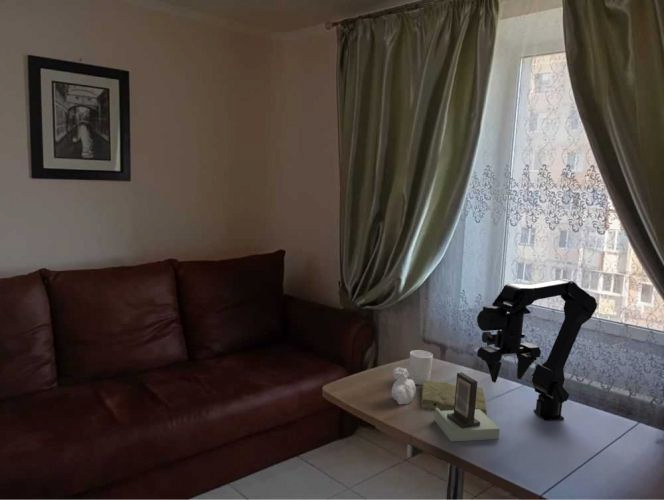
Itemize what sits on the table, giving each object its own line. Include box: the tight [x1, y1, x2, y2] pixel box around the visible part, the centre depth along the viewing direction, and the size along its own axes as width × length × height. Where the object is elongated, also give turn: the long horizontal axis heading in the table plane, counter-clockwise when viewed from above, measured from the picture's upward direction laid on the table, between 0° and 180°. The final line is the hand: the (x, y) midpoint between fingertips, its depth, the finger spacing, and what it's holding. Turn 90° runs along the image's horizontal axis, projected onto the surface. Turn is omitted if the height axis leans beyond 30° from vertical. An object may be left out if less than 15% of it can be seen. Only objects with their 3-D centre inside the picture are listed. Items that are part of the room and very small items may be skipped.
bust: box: [391, 367, 417, 405], centre depth 167 cm, size 12×8×11 cm
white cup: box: [409, 349, 434, 386], centre depth 182 cm, size 8×8×10 cm
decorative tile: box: [421, 380, 488, 417], centre depth 167 cm, size 18×20×4 cm
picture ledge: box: [434, 408, 500, 442], centre depth 149 cm, size 14×12×4 cm
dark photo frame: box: [447, 372, 480, 429], centre depth 147 cm, size 6×7×13 cm
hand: (506, 380), depth 153 cm, fingers open, 9 cm apart
